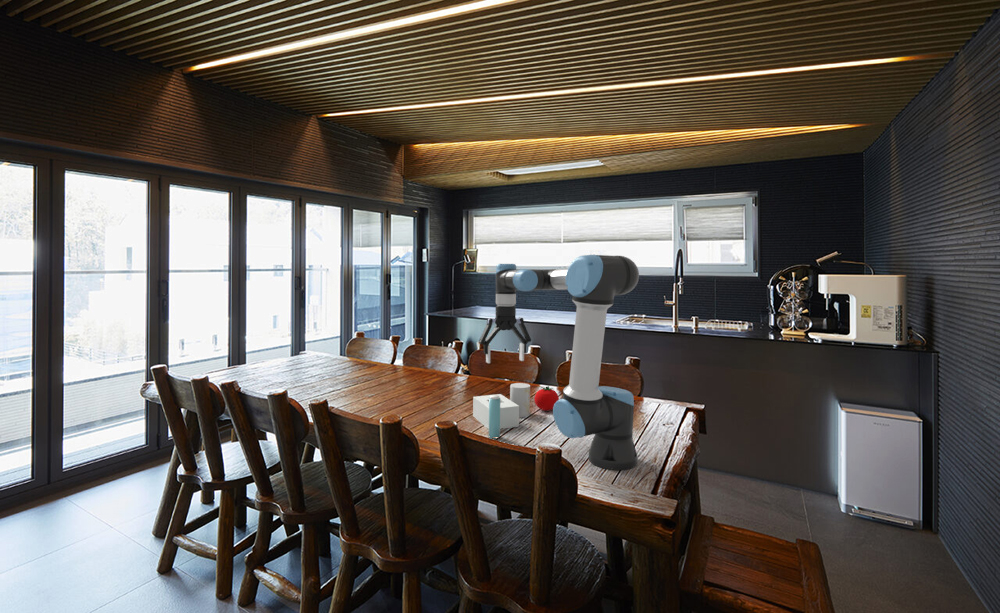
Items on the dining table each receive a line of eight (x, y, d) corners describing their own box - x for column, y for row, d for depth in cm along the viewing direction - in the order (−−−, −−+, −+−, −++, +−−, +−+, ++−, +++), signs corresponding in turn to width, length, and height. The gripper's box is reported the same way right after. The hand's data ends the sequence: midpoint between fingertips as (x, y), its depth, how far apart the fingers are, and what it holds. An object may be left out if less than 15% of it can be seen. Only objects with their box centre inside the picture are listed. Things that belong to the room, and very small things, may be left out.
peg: (501, 438, 174) (502, 397, 173) (491, 439, 172) (491, 398, 171) (497, 434, 178) (497, 394, 176) (486, 435, 176) (487, 395, 175)
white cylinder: (528, 417, 197) (528, 388, 196) (508, 416, 199) (508, 387, 198) (530, 411, 205) (531, 383, 204) (511, 410, 207) (512, 382, 206)
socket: (518, 426, 186) (519, 405, 186) (489, 430, 182) (489, 409, 181) (500, 412, 203) (500, 394, 202) (473, 416, 198) (473, 396, 198)
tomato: (531, 412, 205) (531, 388, 204) (537, 405, 214) (537, 383, 214) (556, 414, 201) (556, 391, 201) (560, 407, 211) (561, 385, 210)
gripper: (531, 303, 190) (531, 357, 192) (470, 305, 181) (470, 361, 183) (540, 305, 183) (539, 361, 185) (477, 306, 174) (476, 365, 176)
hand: (505, 361), depth 184 cm, fingers open, 13 cm apart
